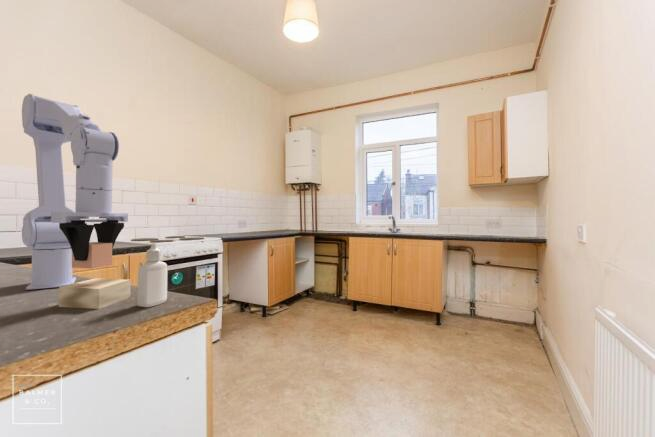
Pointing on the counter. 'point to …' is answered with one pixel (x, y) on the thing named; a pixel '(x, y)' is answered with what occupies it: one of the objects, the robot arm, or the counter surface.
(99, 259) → the terracotta cube
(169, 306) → the counter surface
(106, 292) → the birch block
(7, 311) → the counter surface
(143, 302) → the eye dropper bottle
